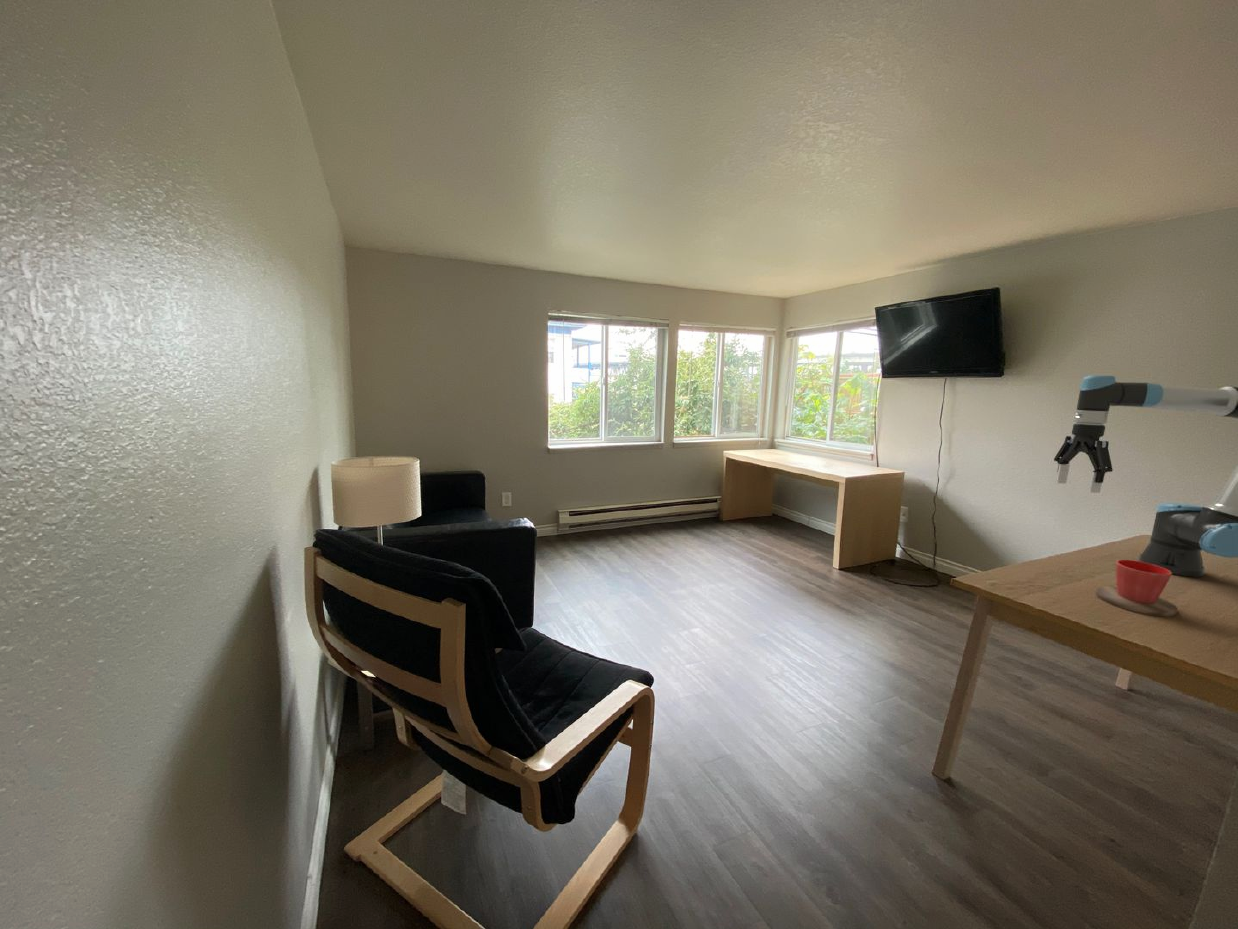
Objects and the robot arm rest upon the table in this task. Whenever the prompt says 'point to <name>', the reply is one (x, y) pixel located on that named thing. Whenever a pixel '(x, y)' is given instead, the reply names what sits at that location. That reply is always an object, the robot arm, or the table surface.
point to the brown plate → (1136, 603)
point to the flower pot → (1140, 580)
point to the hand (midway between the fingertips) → (1076, 487)
